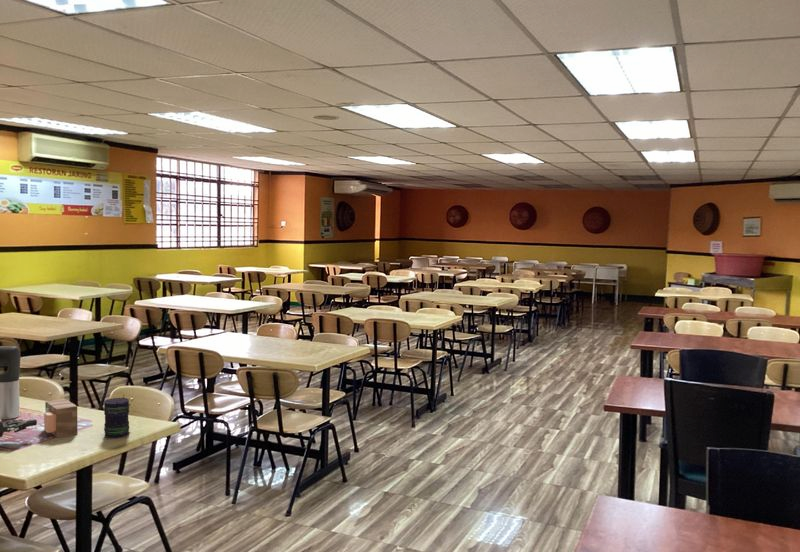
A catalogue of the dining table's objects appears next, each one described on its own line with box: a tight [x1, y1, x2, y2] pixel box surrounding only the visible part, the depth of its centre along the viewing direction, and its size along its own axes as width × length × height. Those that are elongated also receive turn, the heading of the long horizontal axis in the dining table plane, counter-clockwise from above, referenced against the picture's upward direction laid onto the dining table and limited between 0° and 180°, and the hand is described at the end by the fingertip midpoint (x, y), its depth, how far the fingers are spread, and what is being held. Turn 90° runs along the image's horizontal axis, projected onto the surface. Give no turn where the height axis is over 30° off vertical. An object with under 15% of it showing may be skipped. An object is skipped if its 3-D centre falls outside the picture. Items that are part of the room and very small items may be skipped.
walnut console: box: [44, 398, 79, 438], centre depth 279 cm, size 17×8×12 cm, turn 43°
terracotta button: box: [43, 412, 56, 433], centre depth 272 cm, size 5×6×7 cm
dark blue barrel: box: [103, 397, 130, 440], centre depth 275 cm, size 10×10×15 cm
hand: (36, 422), depth 268 cm, fingers closed
